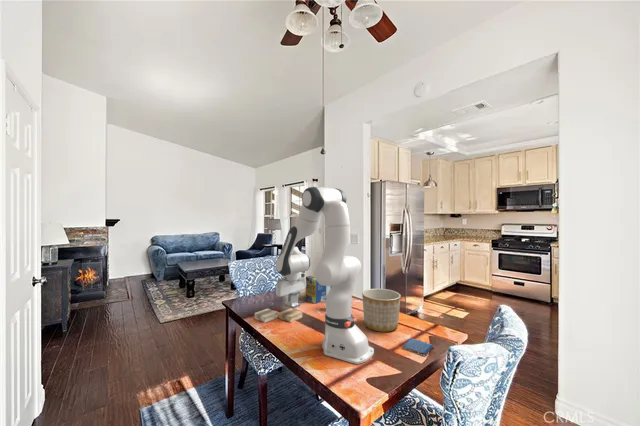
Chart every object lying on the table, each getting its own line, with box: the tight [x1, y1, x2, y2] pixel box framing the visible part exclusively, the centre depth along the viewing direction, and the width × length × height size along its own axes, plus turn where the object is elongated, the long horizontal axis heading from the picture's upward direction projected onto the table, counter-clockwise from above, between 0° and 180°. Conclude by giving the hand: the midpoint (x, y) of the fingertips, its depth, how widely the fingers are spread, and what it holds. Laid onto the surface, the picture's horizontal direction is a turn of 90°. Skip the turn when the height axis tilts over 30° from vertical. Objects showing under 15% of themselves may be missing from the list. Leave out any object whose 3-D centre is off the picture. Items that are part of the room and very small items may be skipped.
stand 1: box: [254, 308, 279, 323], centre depth 151 cm, size 9×9×3 cm
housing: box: [283, 291, 301, 309], centre depth 151 cm, size 8×5×8 cm, turn 50°
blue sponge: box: [401, 337, 435, 357], centre depth 118 cm, size 10×11×2 cm
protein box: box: [305, 274, 332, 305], centre depth 182 cm, size 10×15×16 cm
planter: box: [361, 288, 402, 333], centre depth 141 cm, size 19×19×16 cm
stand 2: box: [278, 307, 303, 323], centre depth 151 cm, size 9×9×3 cm
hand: (291, 300), depth 151 cm, fingers closed on housing, 5 cm apart
